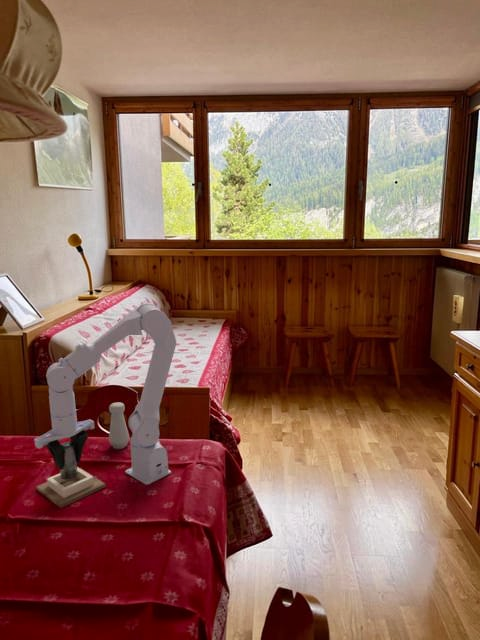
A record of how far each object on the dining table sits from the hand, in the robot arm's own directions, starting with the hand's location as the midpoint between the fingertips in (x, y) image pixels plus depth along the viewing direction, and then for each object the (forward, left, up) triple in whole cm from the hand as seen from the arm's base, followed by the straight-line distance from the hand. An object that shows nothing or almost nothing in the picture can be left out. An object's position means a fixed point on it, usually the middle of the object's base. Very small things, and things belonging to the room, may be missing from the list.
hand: (68, 464), depth 123 cm
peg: (0, 0, -3) cm, 3 cm away
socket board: (0, 0, -6) cm, 6 cm away
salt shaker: (+10, -21, -7) cm, 24 cm away
